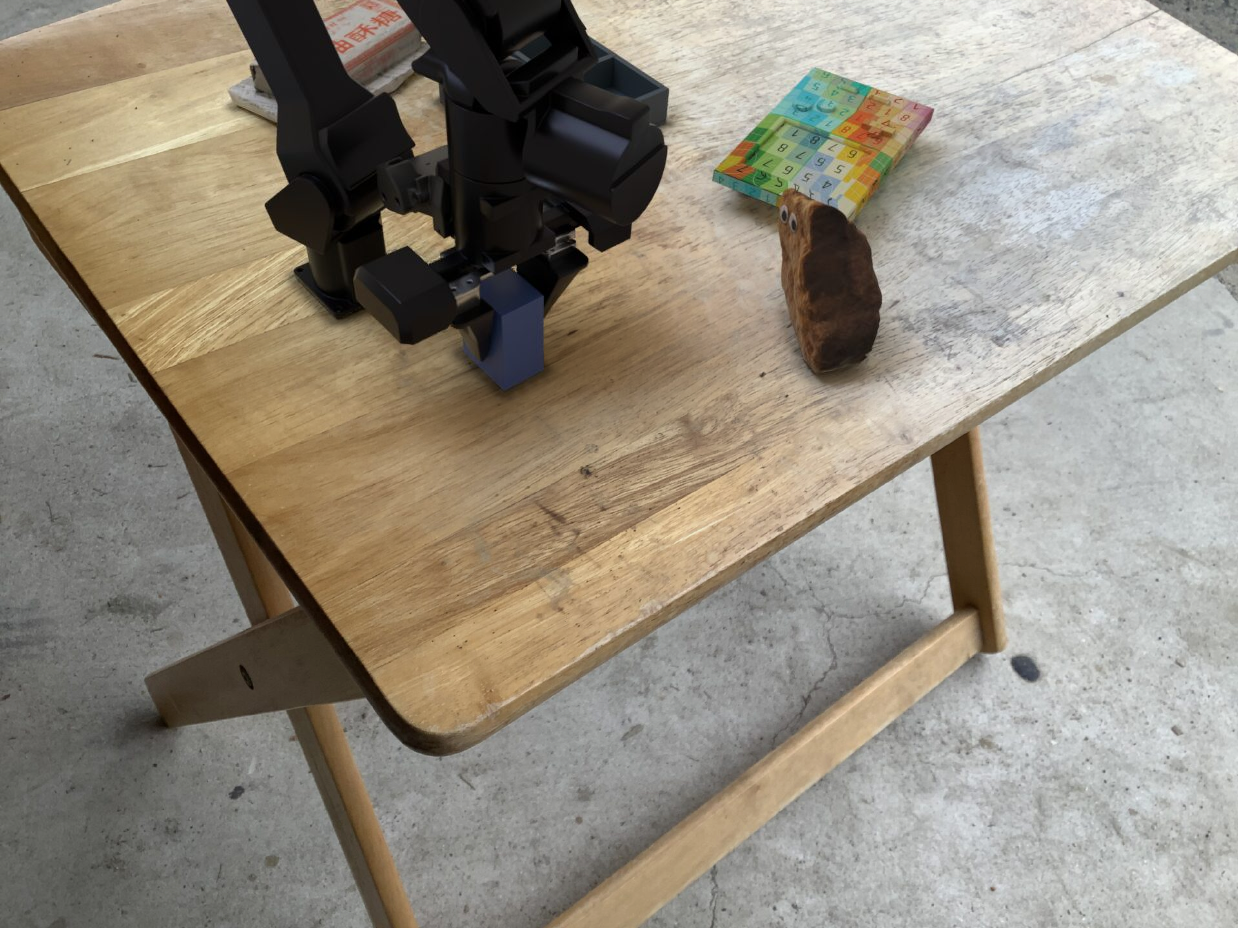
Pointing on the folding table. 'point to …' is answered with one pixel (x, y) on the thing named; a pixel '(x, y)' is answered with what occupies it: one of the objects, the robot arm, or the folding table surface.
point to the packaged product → (352, 53)
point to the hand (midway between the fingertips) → (502, 345)
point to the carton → (512, 329)
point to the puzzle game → (825, 143)
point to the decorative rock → (827, 283)
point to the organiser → (610, 77)
